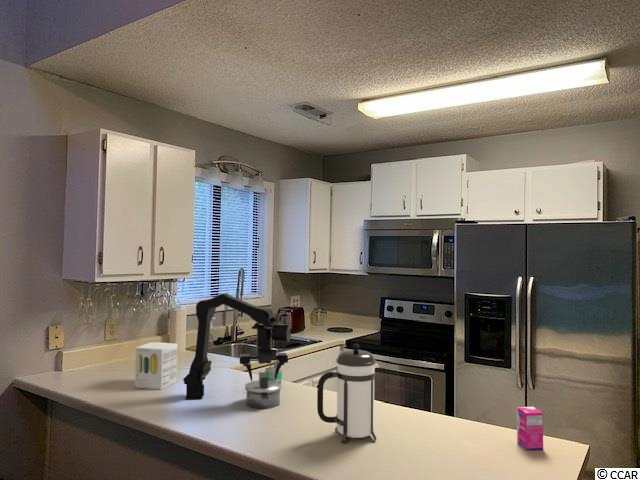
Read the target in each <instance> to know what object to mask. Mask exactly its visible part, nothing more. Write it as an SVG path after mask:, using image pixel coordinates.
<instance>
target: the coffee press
mask: <svg viewBox="0 0 640 480" xmlns="http://www.w3.org/2000/svg"><path fill="white" fill-rule="evenodd" d="M335 361H336V364H337V367H336V371H328V372H325V373H323V374H322V375H321V376H320V378H319V380H318V383H317V391H316V392H317V393H316V397H317V398H316V399H317V400H316V402H317V403H316V405H317V406H316V407H317V415H318V417H319V419H320V420H321V421H323V422H325V423H330V424H331V423H332V424H333V423H335V424H336V427H335V428H334V430H335V432H336V433H339V434H340V435H342V437H341V443H342V444H348V442H349V439H351V438H352V439H354V438H355V439H360V438H365V437H366V438H368V440H369V441H370V442H372V443H374V442H376V441H377V436H376V435H375V432H374V429H375V425H374V424H375V378H376V371H375V369H376V368H377V369H379V368H380V366H379V364H378V363H377V360H376V359H375V356H374V355H373V354H372V353H371V352H369V351H367V350H362V349H360V345H359V343H353V345H352V349H348V350H347V349H346V350H344V351H341V352H340V353H339V354H338V356H337V358H336V359H335ZM333 378H337V379H336V380H337V381H336V382H337V383H336V386H337V387H336V389H337V390H336V391H337V392H336V416H327V415H325V413H324V384H325V383H326V381H327V380H328V379H333ZM371 435H372V436H371Z"/></svg>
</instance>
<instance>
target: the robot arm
mask: <svg viewBox="0 0 640 480" xmlns="http://www.w3.org/2000/svg"><path fill="white" fill-rule="evenodd" d="M222 305H224V306H226V307H228V308H231V309H234V310H236V311H238V312H240V313H243V314H246V315H247V316H249V317H250V318H251V320H253V321H255V323H254V325H252V327H251V329H252V330H256V355H251V354H250V353H240V355H239V364H240V365H242V367H245V368H246V369H247V372H248V375H249V379H250V382H252V381H253V374H252V365H251V364H252V362H258V364H261V365H262V364H271V363H272V361H275V362H276V366H275V375H274V379H275V380H276V378H277V375H278V372H279V369H280V367H281V366H282V365H283V366H284V365H285V364H286V363H287V364H288V363H289V356H288V354H287V353H286V352H277V349H272V340H273V341H274V342H280V343H281V342H282V343H283V342H285V343H289V342H290V341H291V337H292V332H291V328H290V324H289V323H282V324H281V323H279V322H278V321H277V319H276V318H275V316H274V312H273V310H272V308H270V307H265V306H260V305H254V304H251V303H248V302H246V301H244V300H242V299H240V298H237V297H235V296H232V295H230V294H228V293H227V292H225V293H220V294H218V295H217V296H214V297H211V298H208V299H203V300H199V301H198V302H197V303H196V306H195V315H196V318H197V321H198V324H197V325H198V326H197V335H196V336H197V337H196V344H195V355H194V357H193V360H192V361H191V364H190V366H189V371H188V372H189V373H188V374H186V375H185V377H184V378H183V380H182V381H183V384H184V385H186V386H185V387H186V391H185V393H186V394H185V400H202V399H203V398H204V397H205V396H204V395H205V384H204V380H206V377H207V376H208V375H209V374H210V372H211V371H212V367H211V366H212V363H213V362H212V360H209V358H208V348H209V340H210V339H209V338H210V331H211V329H210V328H211V322H212V320H213V318H214V316H215V313H216V309H217V308H219V307H221V306H222Z"/></svg>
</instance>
